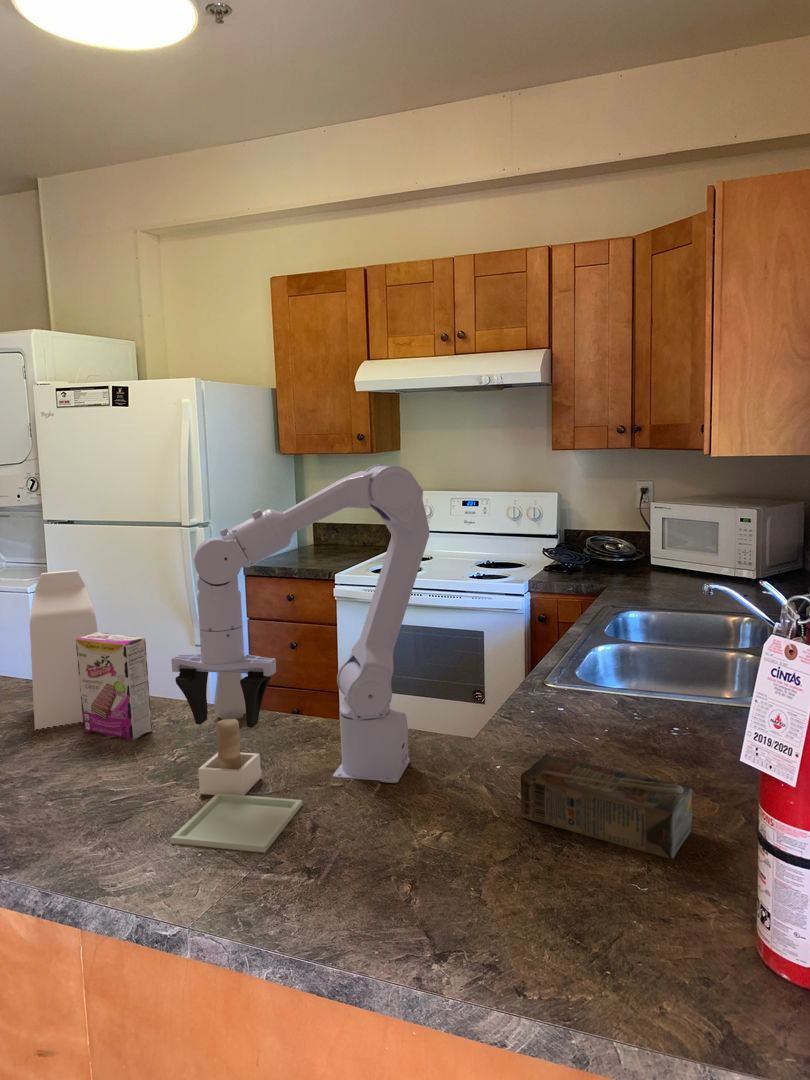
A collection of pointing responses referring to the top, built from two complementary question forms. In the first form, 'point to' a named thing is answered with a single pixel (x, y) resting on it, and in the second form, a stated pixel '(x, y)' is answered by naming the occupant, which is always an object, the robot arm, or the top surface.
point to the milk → (58, 646)
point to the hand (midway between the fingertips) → (226, 723)
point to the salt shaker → (229, 696)
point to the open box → (229, 776)
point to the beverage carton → (607, 804)
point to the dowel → (228, 744)
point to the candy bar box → (114, 685)
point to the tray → (238, 822)
